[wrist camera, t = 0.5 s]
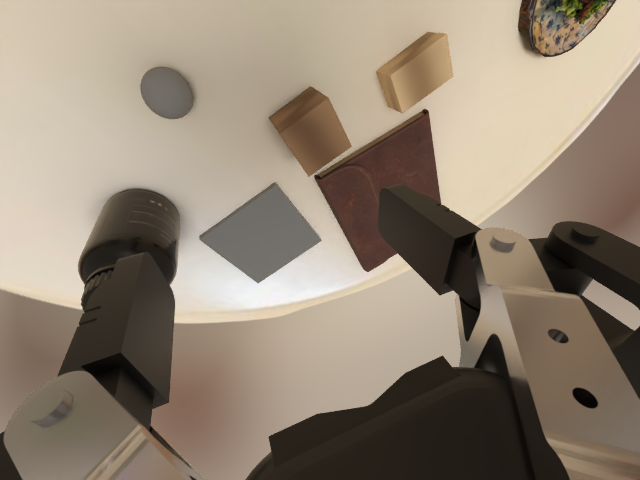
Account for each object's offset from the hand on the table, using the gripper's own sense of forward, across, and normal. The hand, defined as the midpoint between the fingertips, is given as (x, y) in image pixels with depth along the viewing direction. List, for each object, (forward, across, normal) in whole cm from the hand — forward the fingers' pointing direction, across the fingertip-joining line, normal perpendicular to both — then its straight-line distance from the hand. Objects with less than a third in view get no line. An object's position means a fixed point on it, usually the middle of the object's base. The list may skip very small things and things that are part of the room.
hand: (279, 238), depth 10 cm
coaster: (+22, -1, +15) cm, 26 cm away
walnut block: (+21, -7, +2) cm, 22 cm away
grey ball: (+19, +4, -3) cm, 20 cm away
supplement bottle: (+22, +11, +8) cm, 26 cm away
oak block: (+20, -19, -2) cm, 28 cm away
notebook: (+22, -19, +14) cm, 32 cm away
